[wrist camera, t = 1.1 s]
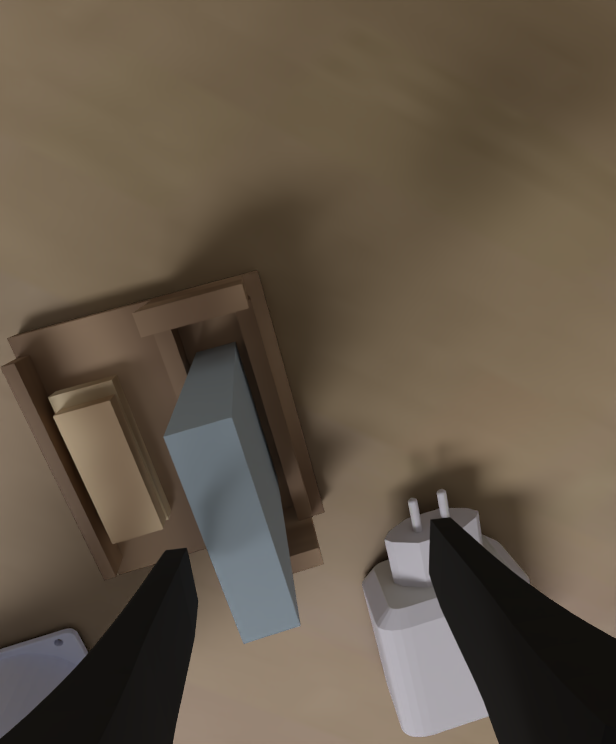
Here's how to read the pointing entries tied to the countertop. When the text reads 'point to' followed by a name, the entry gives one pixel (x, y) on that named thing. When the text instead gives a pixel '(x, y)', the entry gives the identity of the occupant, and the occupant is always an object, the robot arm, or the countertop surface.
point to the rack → (166, 405)
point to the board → (234, 492)
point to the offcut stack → (111, 457)
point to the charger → (423, 626)
